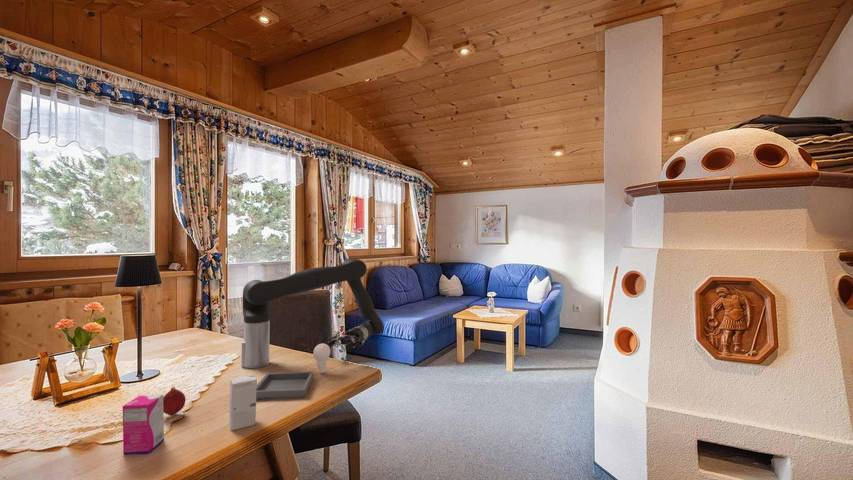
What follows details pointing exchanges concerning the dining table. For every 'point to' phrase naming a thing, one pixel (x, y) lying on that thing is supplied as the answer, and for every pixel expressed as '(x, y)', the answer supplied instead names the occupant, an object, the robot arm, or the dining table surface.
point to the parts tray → (284, 385)
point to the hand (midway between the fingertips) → (337, 346)
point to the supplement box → (143, 424)
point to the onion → (173, 402)
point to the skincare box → (242, 402)
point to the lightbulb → (321, 356)
